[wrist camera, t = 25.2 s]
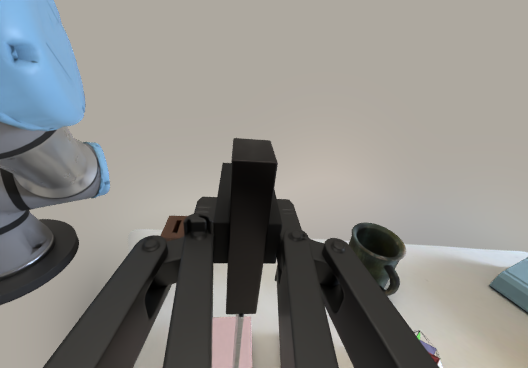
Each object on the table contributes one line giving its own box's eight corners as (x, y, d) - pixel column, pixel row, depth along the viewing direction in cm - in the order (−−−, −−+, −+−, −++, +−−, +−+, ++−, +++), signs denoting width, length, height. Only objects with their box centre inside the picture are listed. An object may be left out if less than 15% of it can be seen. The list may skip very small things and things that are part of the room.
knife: (222, 406, 20) (231, 162, 9) (224, 365, 23) (233, 136, 11) (243, 405, 20) (278, 164, 9) (243, 364, 23) (270, 138, 12)
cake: (195, 414, 32) (193, 396, 29) (205, 337, 41) (204, 317, 38) (249, 410, 33) (253, 393, 30) (248, 335, 42) (250, 316, 39)
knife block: (165, 271, 52) (159, 237, 47) (173, 247, 58) (169, 215, 53) (188, 271, 52) (185, 237, 47) (194, 248, 58) (192, 216, 53)
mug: (370, 257, 61) (386, 222, 55) (404, 311, 49) (431, 273, 43) (331, 258, 60) (343, 221, 54) (356, 314, 47) (377, 274, 41)
